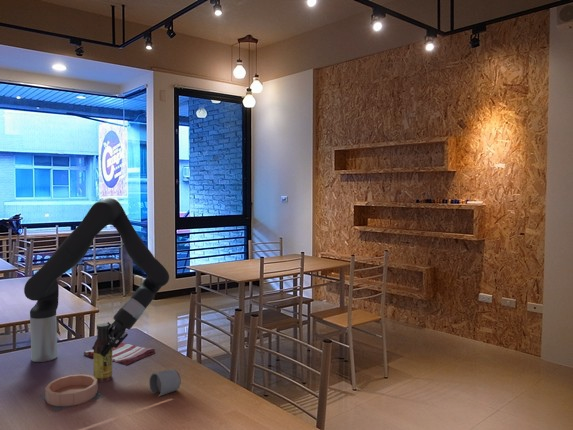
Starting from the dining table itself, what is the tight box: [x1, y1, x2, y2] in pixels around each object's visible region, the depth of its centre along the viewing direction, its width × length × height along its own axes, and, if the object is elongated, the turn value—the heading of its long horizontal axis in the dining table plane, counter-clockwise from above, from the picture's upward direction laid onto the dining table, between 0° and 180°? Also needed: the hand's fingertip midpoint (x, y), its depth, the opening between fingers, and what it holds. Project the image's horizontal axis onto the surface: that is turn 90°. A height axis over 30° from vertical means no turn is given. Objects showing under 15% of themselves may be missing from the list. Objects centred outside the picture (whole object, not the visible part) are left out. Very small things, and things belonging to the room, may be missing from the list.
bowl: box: [44, 373, 99, 407], centre depth 154 cm, size 15×15×4 cm
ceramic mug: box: [148, 368, 182, 397], centre depth 159 cm, size 11×8×8 cm
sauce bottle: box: [93, 322, 113, 383], centre depth 168 cm, size 6×6×20 cm
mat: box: [40, 390, 105, 413], centre depth 154 cm, size 15×15×1 cm
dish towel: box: [83, 341, 156, 366], centre depth 194 cm, size 17×23×3 cm
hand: (98, 352), depth 166 cm, fingers closed on sauce bottle, 6 cm apart
